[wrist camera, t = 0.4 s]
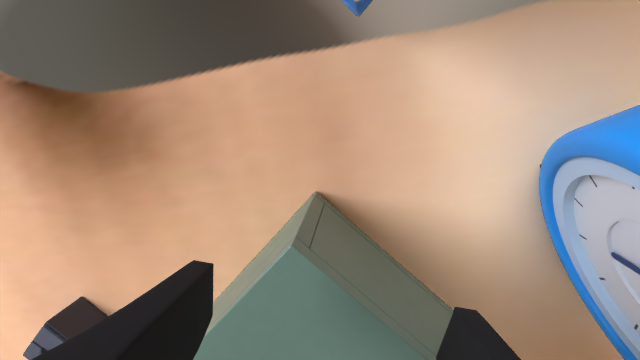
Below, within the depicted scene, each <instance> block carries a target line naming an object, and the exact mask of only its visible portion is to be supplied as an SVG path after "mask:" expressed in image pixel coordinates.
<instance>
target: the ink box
mask: <svg viewBox="0 0 640 360" xmlns="http://www.w3.org/2000/svg"><path fill="white" fill-rule="evenodd" d="M341 1H342V2H343V3H344V4H345V5H346V6H347V7H348V8H349V9H350V10H351V11H352V12H353V13H354V14H355V15H356V16H360V15H361V14H362V12H363V11H364V10H365V9H366V8H367V6H368V5H369V4H370V3H371V2H372V0H341Z"/></svg>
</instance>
